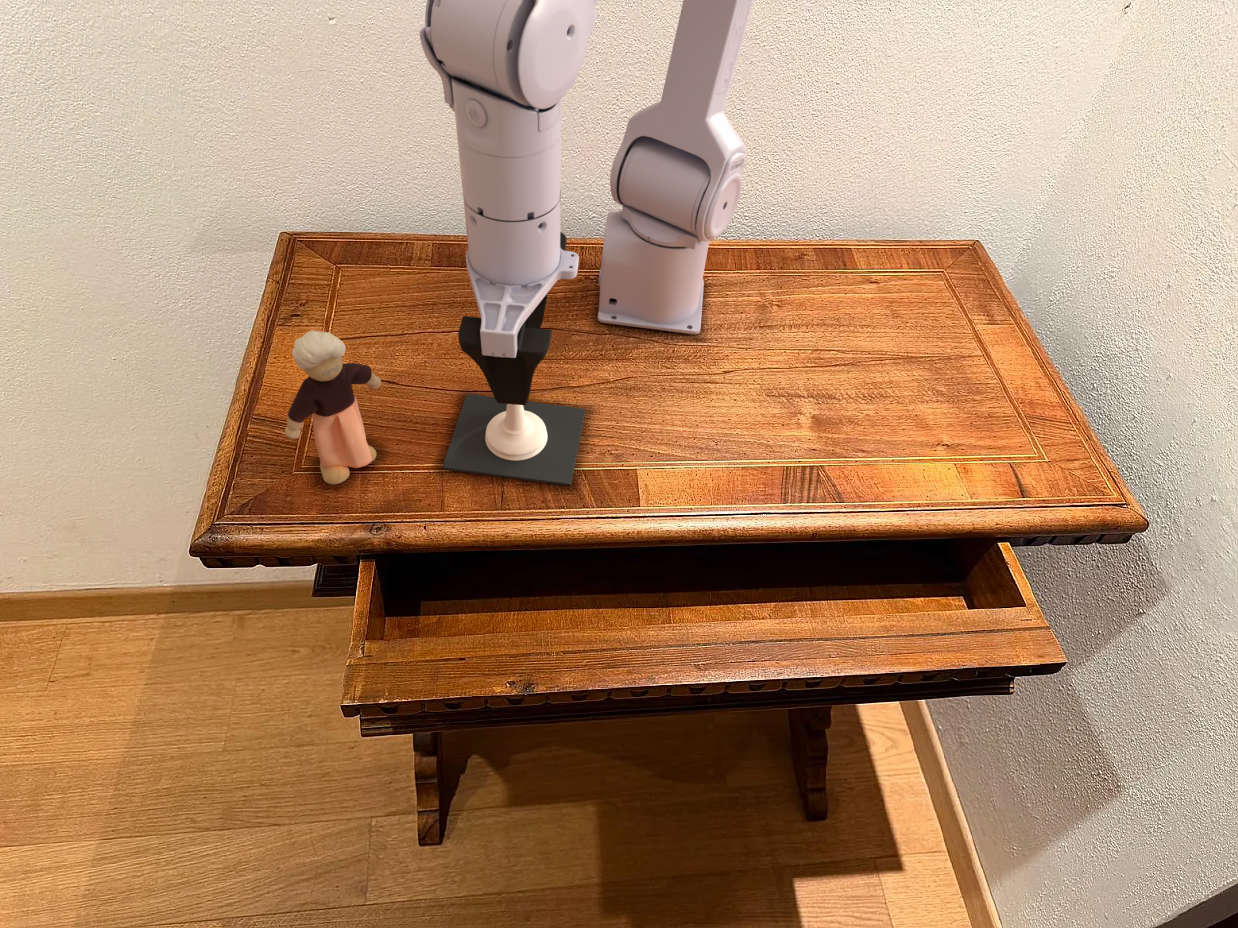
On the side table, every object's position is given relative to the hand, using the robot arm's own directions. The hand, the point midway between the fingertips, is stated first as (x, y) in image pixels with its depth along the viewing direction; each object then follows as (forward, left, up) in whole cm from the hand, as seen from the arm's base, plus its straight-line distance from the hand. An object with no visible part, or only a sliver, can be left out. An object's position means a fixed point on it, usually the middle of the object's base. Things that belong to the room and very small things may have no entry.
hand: (519, 362), depth 57 cm
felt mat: (-1, 0, -8) cm, 9 cm away
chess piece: (-1, 0, -8) cm, 8 cm away
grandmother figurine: (-13, -4, -9) cm, 16 cm away
